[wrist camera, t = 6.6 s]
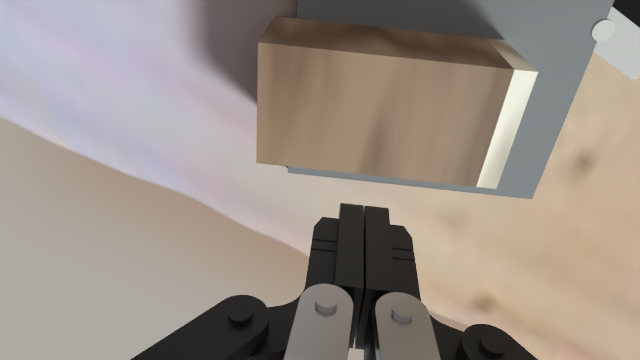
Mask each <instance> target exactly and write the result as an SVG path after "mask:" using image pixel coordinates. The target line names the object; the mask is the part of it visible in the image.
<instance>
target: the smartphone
mask: <svg viewBox="0 0 640 360" xmlns="http://www.w3.org/2000/svg"><path fill="white" fill-rule="evenodd" d="M591 35H592V38H593V39H594V40H596V41H597V43H596V46H595V48H594V51H593V52H594V53H595V54H597V55H598V56H599V57H601V58H602V59H603V60H605V61H606V62H607V63H609V64H610V65H611V66H613V67H614V68H616V69H617V70H618V71H620V72H621V73H622V74H624V75H625V76H626V77H628V78H629V79H632V80H634V79H637V78H638V77H640V0H614V2H613V5H612V7H611V10H610V12H609V14H608V17H607V19H606V20H601V21H599V22H598V23H597V24H595V26H594V27H593V29H592V32H591Z"/></svg>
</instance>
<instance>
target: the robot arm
mask: <svg viewBox="0 0 640 360" xmlns="http://www.w3.org/2000/svg"><path fill="white" fill-rule="evenodd" d="M354 338H355V348H356V349H363V350H364V360H537V359H536V358H535V357H534V356H533V355H532V354H530V353H529V352H528V351H527V350H526V349H525V348H523V347H522V346H521V345H520V344H519V343H518V342H516V341H515V340H514V339H513V338H512V337H511V336H510V335H508V334H507V333H506V332H504V331H502V330H501V329H499V328H497V327H494V326H491V325H487V324H475V325H472V326H470V327H468V328H467V329H466V330H465V331H464V332H462V331H459V330H457V329H454V328H452V327H449V326H447V325H445V324H442V323H440V322H439V321H437V320H436V319H434V318H433V317H432V316H431V315H430V314H429V312H428V310H427V308H426V306H425V305H424V304H423V303H422V302H421V298H420V292H419V285H418V278H417V271H416V264H415V257H414V252H413V242H412V237H411V236H410V234H409V233H408V232H407V230H406V229H405V227H404V226H398V225H390V221H389V210H388V208H381V207H372V206H365V207H363V206H362V205H353V204H344V203H341V204H340V211H339V219H335V218H326V217H322V218H321V219H320V220H319V222H318V223H317V224H316V225H315V226H314V231H313V238H312V245H311V251H310V258H309V265H308V271H307V278H306V285H305V289H304V291H303V292H302V294H301V295H300V296H299V297H298V298H297V299H296V300H294V301H293V302H290V303H288V304H285V305H282V306H275V307H269V308H267V307H266V305H265V304H264V303H263V302H262V301H261V300H259V299H257V298H255V297H253V296H248V295H236V296H232V297H229V298H227V299H225V300H223V301H221V302H220V303H218V304H217V305H215V306H214V307H212V308H210V309H209V310H207V311H206V312H204V313H203V314H201V315H200V316H198V317H196V318H195V319H193V320H192V321H190V322H189V323H187V324H185V325H184V326H182V327H181V328H179V329H178V330H176V331H175V332H173V333H171V334H170V335H168V336H167V337H165V338H164V339H162V340H160V341H159V342H157V343H156V344H154V345H153V346H151V347H150V348H148V349H146V350H145V351H143V352H142V353H140V354H139V355H137V356H135V357H134V358H132V359H131V360H347V357H348V351H349V348H353V343H354Z"/></svg>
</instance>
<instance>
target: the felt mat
mask: <svg viewBox="0 0 640 360" xmlns="http://www.w3.org/2000/svg"><path fill="white" fill-rule="evenodd" d="M613 2H614V0H297V17H296V18H298V19H308V20H317V21H327V22H336V23H346V24H355V25H365V26H374V27H384V28H393V29H403V30H412V31H422V32H431V33H441V34H450V35H460V36H469V37H479V38H488V39H498V40H505V41H506V42H508V43H509V44H510V45H511V46H512V47H513V48H514V49H515V50H516V51H517V52H518V53H519V54H520V55H521V56H522V57H523V58H524V59H525V60H526V61H527V62H528V63H529V64H530V65H531V66H532V67H533V68H534V69H536V70H537V71H538V74H537V77H536V80H535V82H534V85H533V88H532V91H531V94H530V96H529V99H528V102H527V105H526V108H525V110H524V113H523V116H522V119H521V121H520V124H519V127H518V130H517V133H516V135H515V138H514V141H513V144H512V147H511V149H510V152H509V155H508V158H507V161H506V163H505V166H504V169H503V172H502V175H501V177H500V180H499V183H498V186H497V188H496V189H491V188H482V187H473V186H463V185H454V184H445V183H436V182H427V181H418V180H409V179H399V178H390V177H381V176H372V175H363V174H354V173H344V172H335V171H326V170H317V169H308V168H299V167H289V166H288V173H295V174H304V175H314V176H323V177H332V178H341V179H351V180H360V181H369V182H378V183H387V184H397V185H406V186H415V187H424V188H433V189H443V190H452V191H461V192H470V193H479V194H489V195H498V196H507V197H516V198H525V199H532V198H533V195H534V193H535V190H536V188H537V186H538V183H539V181H540V178H541V176H542V174H543V171H544V169H545V166H546V164H547V161H548V159H549V157H550V154H551V152H552V149H553V147H554V145H555V142H556V140H557V137H558V135H559V133H560V130H561V128H562V125H563V123H564V120H565V118H566V116H567V113H568V111H569V108H570V106H571V104H572V101H573V99H574V96H575V94H576V92H577V89H578V87H579V84H580V82H581V80H582V77H583V75H584V72H585V70H586V67H587V65H588V63H589V60H590V58H591V55H592V53H593V51H594V48H595V46H596V43H597V41H596V40H594V39H593V38H592V35H591V32H592V29H593V27H594V26H595V24H597V23H598V22H599V21H601V20H606V19H607V17H608V14H609V12H610V10H611V7H612V5H613Z"/></svg>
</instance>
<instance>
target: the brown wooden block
mask: <svg viewBox="0 0 640 360" xmlns="http://www.w3.org/2000/svg"><path fill="white" fill-rule="evenodd" d="M537 74H538V71H537V70H536V69H534V68H533V67H532V66H531V65H530V64H529V63H528V62H527V61H526V60H525V59H524V58H523V57H522V56H521V55H520V54H519V53H518V52H517V51H516V50H515V49H514V48H513V47H512V46H511V45H510V44H509V43H508V42H506V41H505V40H498V39H488V38H479V37H469V36H460V35H450V34H441V33H431V32H422V31H412V30H403V29H393V28H384V27H374V26H365V25H355V24H346V23H336V22H327V21H317V20H308V19H298V18H289V17H279V16H275V18H274V19H273V21H272V22H271V24H270V25H269V27H268V28H267V30H266V31H265V33H264V34H263V35H262V37H261V38H260V40H259V41H258V73H257V163H262V164H271V165H280V166H289V167H299V168H308V169H317V170H326V171H335V172H344V173H354V174H363V175H372V176H381V177H390V178H399V179H409V180H418V181H427V182H436V183H445V184H454V185H463V186H473V187H482V188H491V189H496V188H497V186H498V183H499V180H500V177H501V175H502V172H503V169H504V166H505V163H506V161H507V158H508V155H509V152H510V149H511V147H512V144H513V141H514V138H515V135H516V133H517V130H518V127H519V124H520V121H521V119H522V116H523V113H524V110H525V108H526V105H527V102H528V99H529V96H530V94H531V91H532V88H533V85H534V82H535V80H536V77H537Z"/></svg>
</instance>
